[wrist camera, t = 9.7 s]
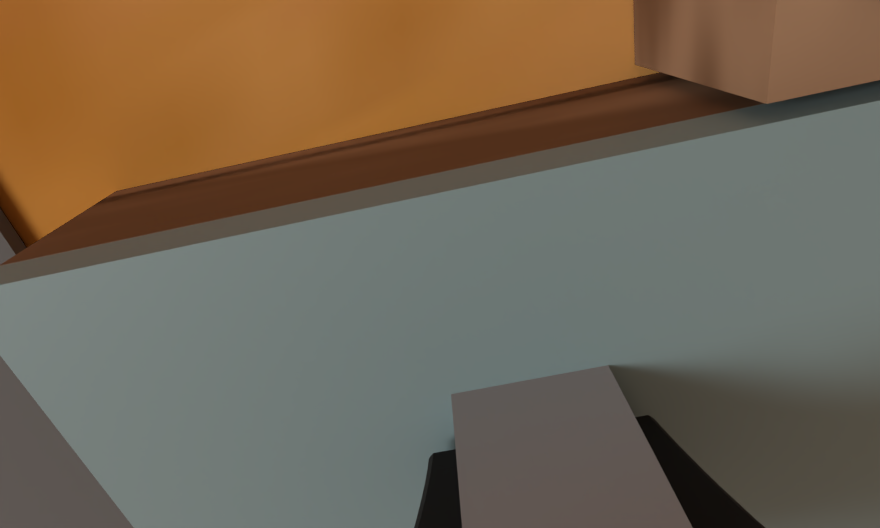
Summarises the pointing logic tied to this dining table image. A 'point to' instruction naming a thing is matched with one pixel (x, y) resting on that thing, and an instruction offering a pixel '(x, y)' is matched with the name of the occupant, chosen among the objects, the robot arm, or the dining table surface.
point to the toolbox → (533, 114)
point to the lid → (492, 337)
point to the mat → (42, 456)
